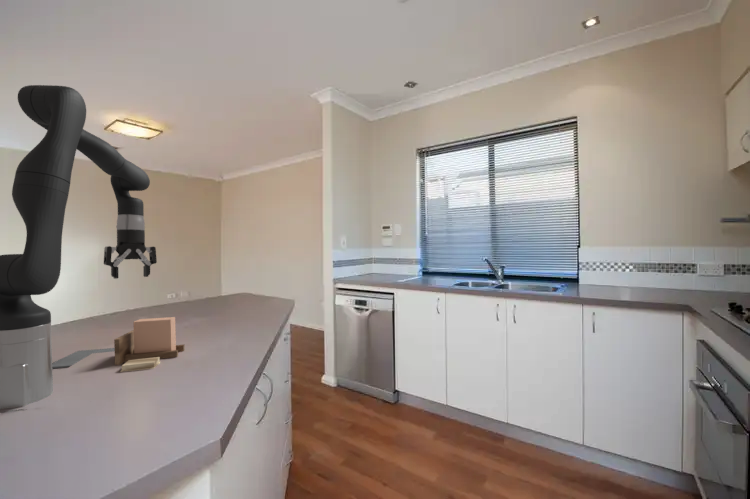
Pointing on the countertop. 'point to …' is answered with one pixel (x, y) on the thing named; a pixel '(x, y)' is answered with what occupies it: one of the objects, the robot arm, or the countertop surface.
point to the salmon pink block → (154, 335)
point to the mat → (77, 357)
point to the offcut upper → (140, 363)
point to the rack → (126, 352)
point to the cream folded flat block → (142, 369)
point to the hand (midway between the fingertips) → (131, 277)
